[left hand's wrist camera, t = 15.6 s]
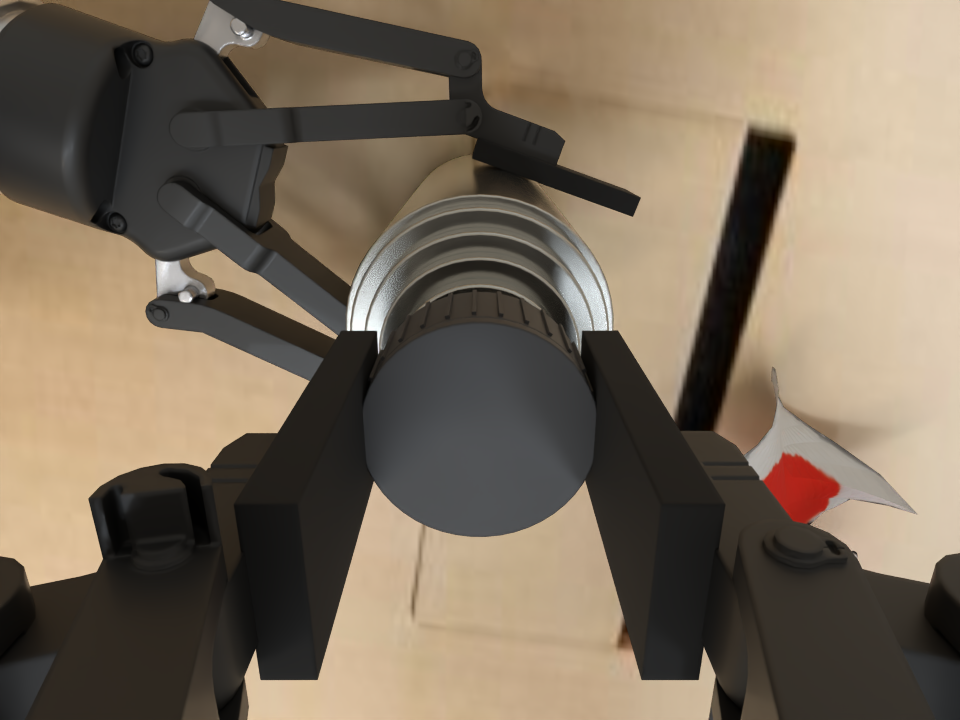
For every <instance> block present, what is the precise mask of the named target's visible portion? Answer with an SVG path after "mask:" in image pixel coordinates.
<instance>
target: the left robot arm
mask: <svg viewBox="0 0 960 720" xmlns="http://www.w3.org/2000/svg"><path fill="white" fill-rule="evenodd" d="M377 357H378V336H377V331H341V332H340V333H339V335H338V337H337V338H336V340H335V342H334V343H333V345H332V346H331V348H330V350H329V351H328V353H327V354H326V356H325V358H324V359H323V361H322V363H321V364H320V366H319V367H318V369H317V371H316V372H315V374H314V375H313V377H312V379H311V380H310V382H309V383H308V385H307V387H306V388H305V390H304V392H303V393H302V395H301V396H300V398H299V400H298V401H297V403H296V404H295V406H294V408H293V409H292V411H291V413H290V414H289V416H288V417H287V419H286V421H285V422H284V424H283V425H282V427H281V429H280V430H279V432H278V433H246V434H245V435H243V436H242V437H240V438H238V439H237V440H235V441H234V442H232V443H230V444H229V445H227V446H226V447H224V448H223V449H222V451H221V452H220V453H219V455H218V456H217V457H216V459H215V460H214V461H213V462H212V464H211V468H208V469H207V470H206V471H205V470H204V469H203V468H201V467H198V466H194V465H189V464H185V463H179V464H159V465H154V466H149V467H143V468H139V469H136V470H134V471H131V472H128V473H125V474H122V475H119V476H117V477H116V478H114V479H112V480H110V481H109V482H107V483H105V484H104V485H102V486H100V487H99V488H98V489H97V490H96V491H95V492H94V493H93V494H92V495H91V496H90V497H89V503H90V507H91V511H92V515H93V520H94V524H95V528H96V532H97V536H98V540H99V544H100V548H101V552H102V556H103V560H102V562H101V565H100V567H99V569H98V571H97V572H96V573H92V574H88V575H84V576H80V577H75V578H70V579H65V580H60V581H55V582H50V583H45V584H40V585H35V586H29V582H28V579H27V576H26V572H25V569H24V566H22V565H21V564H20V563H19V562H17V561H16V560H15V559H13V558H7V557H1V556H0V720H247V717H248V709H249V705H248V697H247V690H246V684H245V678H244V676H245V673H246V671H247V668H248V666H249V664H250V661H251V659H252V656H253V654H254V652H255V649H256V653H257V660H258V666H259V673H260V679H261V680H318V677H319V673H320V669H321V666H322V662H323V659H324V655H325V652H326V648H327V645H328V641H329V638H330V634H331V631H332V627H333V623H334V620H335V616H336V613H337V609H338V606H339V602H340V599H341V595H342V592H343V588H344V584H345V581H346V577H347V574H348V570H349V567H350V563H351V560H352V556H353V553H354V549H355V546H356V542H357V538H358V535H359V531H360V528H361V524H362V521H363V517H364V514H365V510H366V507H367V503H368V500H369V496H370V492H371V489H372V485H373V482H374V480H373V478H372V476H371V474H370V472H369V470H368V468H367V465H366V452H365V437H364V423H363V401H364V398H365V395H366V393H367V390H368V388H369V385H370V383H371V382H370V381H368V378H369V376H370V374H371V371H372V369H373V366H374V364H375V361H376V359H377ZM581 359H582V361H583V363H584V366H585V368H586V371H587V372H586V374H587V376H588V379H589V381H590V384H591V386H592V389H593V396H594V399H595V401H596V406H597V410H596V426H595V441H594V455H593V465H592V467H591V470H590V472H589V474H588V475H587V477H586V479H585V481H586V485H587V488H588V492H589V495H590V499H591V502H592V506H593V509H594V513H595V516H596V520H597V523H598V527H599V531H600V534H601V538H602V541H603V545H604V548H605V552H606V555H607V559H608V562H609V566H610V570H611V573H612V577H613V580H614V584H615V587H616V591H617V594H618V598H619V601H620V605H621V609H622V612H623V616H624V619H625V623H626V626H627V630H628V633H629V637H630V640H631V644H632V647H633V651H634V655H635V658H636V662H637V665H638V669H639V672H640V676H641V679H642V680H699V674H700V667H701V661H702V654H703V648H705V650H706V653H707V655H708V657H709V660H710V662H711V665H712V667H713V669H714V672H715V674H716V678H715V684H714V690H713V696H712V702H711V708H710V714H709V720H960V553H958V554H952V555H946V556H945V557H943V558H942V559H941V560H940V561H939V562H937V563H936V565H935V569H934V572H933V576H932V579H931V582H930V583H925V582H919V581H914V580H909V579H904V578H899V577H894V576H889V575H884V574H879V573H875V572H871V571H868V570H864V569H862V567H861V565H860V563H859V561H858V559H857V558H856V556H855V555H854V554H853V553H852V551H851V550H850V549H849V548H848V546H847V545H846V544H844V543H843V542H841V541H840V540H838V539H837V538H835V537H834V536H833V535H831V534H830V533H828V532H825V531H823V530H821V529H818V528H816V527H813V526H811V525H808V524H805V523H800V522H795V521H793V520H792V519H791V517H790V516H789V515H788V513H787V512H786V511H785V510H784V508H783V507H782V506H781V504H780V503H779V502H778V500H777V499H776V498H775V496H774V495H773V494H772V492H771V491H770V490H769V488H768V487H767V486H766V484H765V483H764V482H763V481H762V480H760V479H759V475H758V474H757V473H756V471H755V470H754V469H753V467H752V466H749V462H748V461H747V459H746V458H745V457H744V455H743V454H742V453H741V452H740V450H739V449H738V448H737V446H736V445H734V444H733V443H731V442H729V441H728V440H726V439H725V438H723V437H721V436H720V435H718V434H717V433H715V432H713V431H680V430H679V428H678V427H677V425H676V424H675V422H674V420H673V419H672V417H671V415H670V414H669V412H668V411H667V409H666V407H665V406H664V404H663V403H662V401H661V399H660V398H659V396H658V395H657V393H656V391H655V390H654V388H653V386H652V385H651V383H650V382H649V380H648V378H647V377H646V375H645V374H644V372H643V370H642V369H641V367H640V365H639V364H638V362H637V361H636V359H635V357H634V356H633V354H632V353H631V351H630V349H629V348H628V346H627V344H626V343H625V341H624V340H623V338H622V336H621V335H620V333H619V332H618V331H582V340H581Z"/></svg>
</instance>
